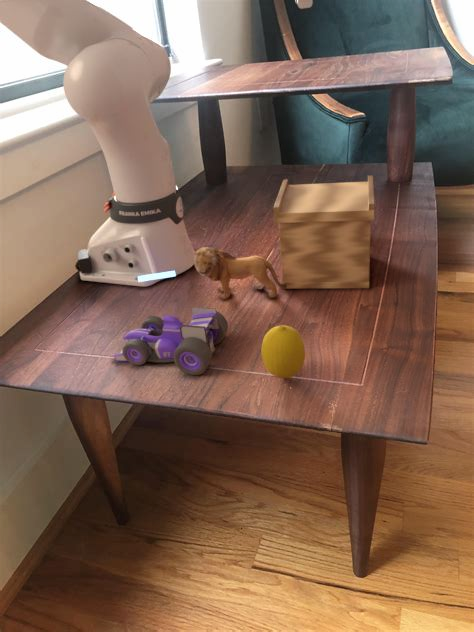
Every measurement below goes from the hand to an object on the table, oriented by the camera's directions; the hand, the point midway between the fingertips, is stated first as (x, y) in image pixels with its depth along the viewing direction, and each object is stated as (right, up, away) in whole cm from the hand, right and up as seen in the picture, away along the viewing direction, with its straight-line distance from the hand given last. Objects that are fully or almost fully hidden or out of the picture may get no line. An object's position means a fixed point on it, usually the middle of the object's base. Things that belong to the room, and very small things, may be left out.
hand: (303, 6), depth 71 cm
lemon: (-2, -48, +1) cm, 48 cm away
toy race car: (-18, -46, +9) cm, 50 cm away
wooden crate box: (+7, -32, +24) cm, 41 cm away
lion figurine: (-8, -37, +21) cm, 43 cm away
